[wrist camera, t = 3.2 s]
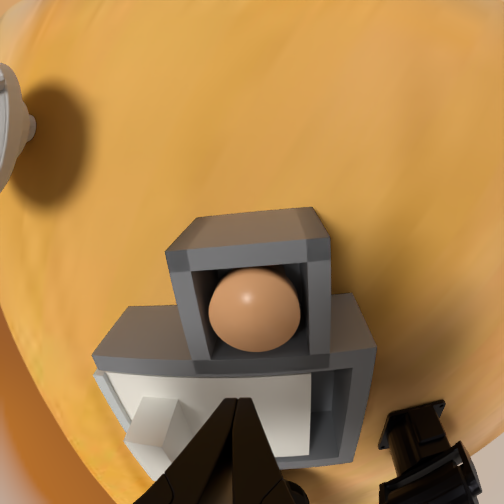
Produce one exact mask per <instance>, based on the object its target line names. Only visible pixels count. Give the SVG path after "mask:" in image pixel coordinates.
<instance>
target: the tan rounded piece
mask: <svg viewBox="0 0 504 504" xmlns="http://www.w3.org/2000/svg"><path fill="white" fill-rule="evenodd" d="M209 319H210V323H211V325H212V327H213V329H214V331H215V332H216V334H217V335H218V336H219V337H220V338H221V339H222V340H223V341H224V342H226V343H227V344H229V345H230V346H232V347H234V348H237V349H240V350H243V351H248V352H264V351H269V350H272V349H275V348H277V347H279V346H281V345H283V344H284V343H286V342H287V341H288V340H289V339H290V338H291V337H292V336H293V335H294V333H295V332H296V330H297V328H298V325H299V322H300V307H299V300H298V294H297V291H296V289H295V286H294V285H293V283H292V282H291V280H290V279H289V278H288V277H287V276H286V273H285V269H284V267H283V265H282V264H278V265H266V266H253V267H240V268H232V270H231V271H229V272H228V273H227V274H225V275H224V276H223V277H222V278H221V280H220V281H219V282H218V284H217V286H216V288H215V291H214V293H213V296H212V299H211V302H210V305H209Z"/></svg>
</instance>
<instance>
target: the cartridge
mask: <svg viewBox="0 0 504 504" xmlns="http://www.w3.org/2000/svg"><path fill="white" fill-rule="evenodd" d="M93 376H94V378H95V380H96V382H97V384H98V386H99V387H100V389H101V391H102V393H103V395H104V397H105V398H106V400H107V402H108V404H109V405H110V407H111V409H112V411H113V412H114V414H115V416H116V417H117V419H118V421H119V422H120V424H121V425H122V427H123V429H124V430H125V432H126V433H127V434H126V436H125V438H124V443H125V444H126V445H127V447H128V448H129V450H130V451H131V453H132V454H133V455H134V457H135V458H136V459H137V461H138V462H139V463H140V465H141V466H142V467H143V469H144V470H145V471H146V472H147V474H148V475H149V476H150V478H151V479H152V480H153V481H157V480H158V478H159V477H160V476H161V475H162V474H163V473H164V472H165V470H166V469H167V468H168V467H169V466H170V465H171V463H172V462H173V461H174V460H175V459H176V458H177V456H178V455H179V454H180V453H181V452H182V450H183V449H184V448H185V447H186V446H187V444H188V443H189V442H190V441H191V439H192V438H193V437H194V436H195V435H196V433H197V432H198V431H199V430H200V428H201V427H202V426H203V425H204V423H205V422H206V421H207V420H208V418H209V417H210V416H211V415H212V413H213V412H214V411H215V409H216V408H217V407H218V406H219V404H220V403H221V402H222V400H223V399H224V398H238V399H239V398H240V397H250V398H252V400H253V403H254V405H255V408H256V411H257V413H258V416H259V419H260V421H261V424H262V426H263V429H264V431H265V434H266V437H267V439H268V442H269V444H270V447H271V449H272V452H273V454H274V457H288V456H303V455H309V442H310V414H311V372H308V373H296V374H283V375H265V376H238V377H191V376H163V375H146V374H133V373H121V372H111V371H102V370H98V368H97V370H96V371H95V373H94V374H93ZM164 474H165V473H164Z"/></svg>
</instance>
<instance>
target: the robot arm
mask: <svg viewBox="0 0 504 504" xmlns="http://www.w3.org/2000/svg"><path fill="white" fill-rule="evenodd" d="M445 405H446V403H445V401H444V400H441V401H437V402H434V403H430V404H426V405H422V406H418V407H414V408H410V409H406V410H402V411H397V412H393V413H390V414H389V415H388V417H387V420H386V423H385V426H384V429H383V432H382V435H381V438H380V441H379V444H378V448H379V450H382V449H387V448H390V452H391V455H392V459H393V463H394V466H395V470H396V474H397V477H396V478H394V479H392V480H390V481H388V482H384V483H382V484H380V485H379V488H380V491H379V504H479V502H478V499H477V495H479V494H480V493H482V489H481V486H480V482H479V479H478V475H477V472H476V469H475V467H474V464H473V462H472V460H471V458H470V455H469V453H468V451H467V450H466V448H465V447H464V445H463V444H462V442H461V441H458V442H457V443H455V445H454V446H452V447H451V446H450V444H449V441H448V439H447V437H446V433H445V431H444V428H443V426H442V424H441V422H440V419H439V418H440V416H441V414H442V411H443V409H444V407H445ZM462 462H463V464H462V465H460V466H457V465H458V464H460V463H462ZM164 473H165V474H164ZM164 473H163V474H162V475H161V476H160V477H159V478H158V480H157V481H156V482H155V483H154V484H153V485H152V486H151V487H150V488H149V489H148V490H147V491H146V492H145V493H144V494H143V495H142V496H141V497H140V498H138V499H137V500H136V501H135V502H134V503H133V504H295V502H294V500H293V498H292V496H291V494H290V492H289V490H288V487H287V485H286V483H285V480H283V476H282V474H281V471H280V469H279V466H278V464H277V461H276V459H275V457H274V454H273V452H272V449H271V447H270V444H269V442H268V439H267V437H266V434H265V431H264V429H263V426H262V424H261V421H260V419H259V416H258V413H257V411H256V408H255V405H254V403H253V400H252V398H250V397H240V398H239V399H238V398H224V399H223V400H222V402H221V403H220V404H219V406H218V407H217V408H216V409H215V411H214V412H213V413H212V415H211V416H210V417H209V418H208V420H207V421H206V422H205V423H204V425H203V426H202V427H201V428H200V430H199V431H198V432H197V433H196V435H195V436H194V437H193V438H192V439H191V441H190V442H189V443H188V444H187V446H186V447H185V448H184V449H183V450H182V452H181V453H180V454H179V455H178V456H177V458H176V459H175V460H174V461H173V462H172V463H171V465H170V466H169V467H168V468H167V469H166V470H165V472H164Z"/></svg>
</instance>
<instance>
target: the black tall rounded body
mask: <svg viewBox="0 0 504 504" xmlns="http://www.w3.org/2000/svg"><path fill="white" fill-rule="evenodd" d="M283 480H285V479H283ZM285 483H286V485H287V487H288V490H289V492H290V494H291V496H292V498H293V500H294V502H295V504H309V500H308V497H307V494H306V493H305V492H304V490H303V489H302V488H301V487H300V486H299V485H297V484H296V483H293V482H290V481H286V480H285Z"/></svg>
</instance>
